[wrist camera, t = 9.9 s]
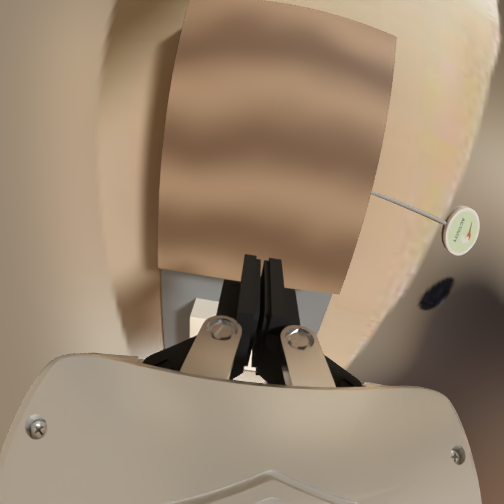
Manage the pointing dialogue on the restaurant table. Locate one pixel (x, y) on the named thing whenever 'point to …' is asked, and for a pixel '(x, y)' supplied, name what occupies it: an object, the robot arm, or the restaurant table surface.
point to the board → (271, 140)
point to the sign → (451, 226)
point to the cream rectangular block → (203, 312)
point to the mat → (209, 288)
